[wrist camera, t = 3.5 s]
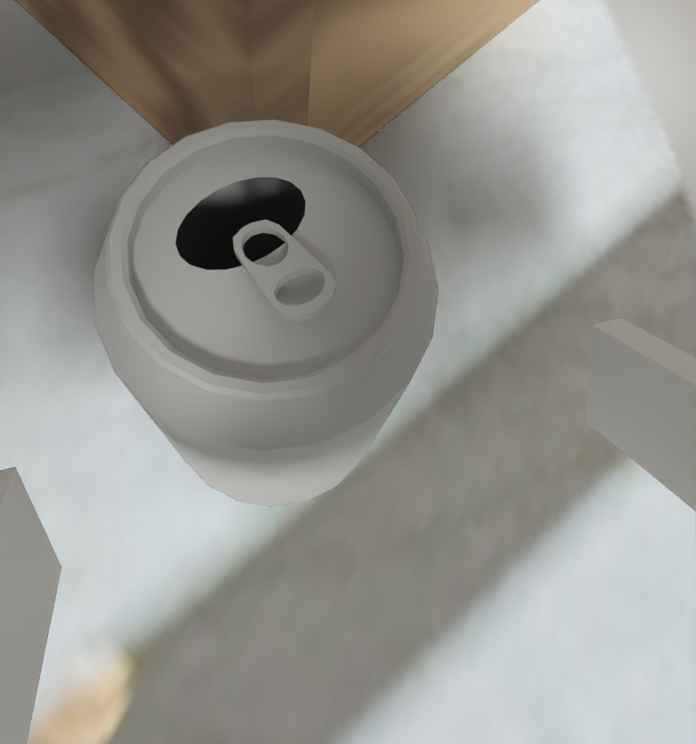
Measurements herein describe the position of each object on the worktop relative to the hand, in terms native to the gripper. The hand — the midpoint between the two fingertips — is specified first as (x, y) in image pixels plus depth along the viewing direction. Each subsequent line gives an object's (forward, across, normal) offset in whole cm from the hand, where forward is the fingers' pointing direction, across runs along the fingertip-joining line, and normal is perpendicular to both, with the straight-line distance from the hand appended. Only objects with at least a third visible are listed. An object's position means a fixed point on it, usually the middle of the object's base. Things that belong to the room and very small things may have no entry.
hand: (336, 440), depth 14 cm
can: (+9, -1, -4) cm, 10 cm away
